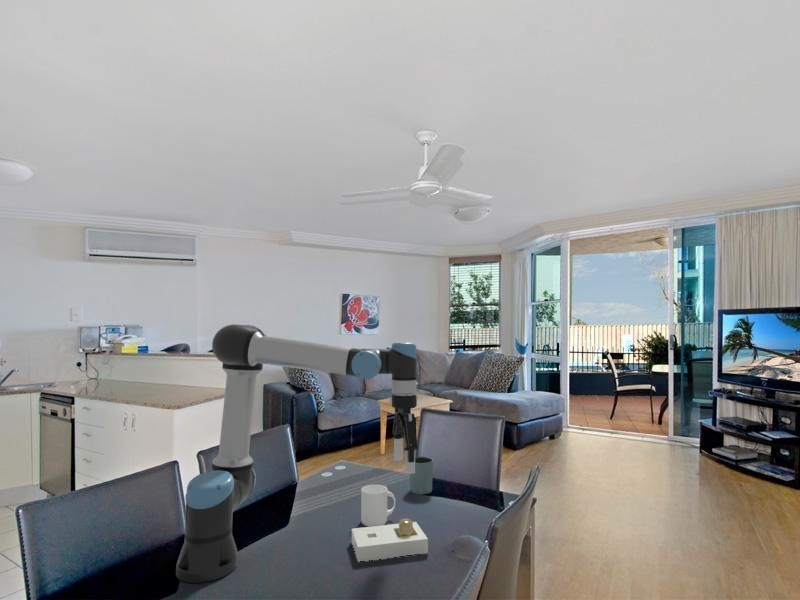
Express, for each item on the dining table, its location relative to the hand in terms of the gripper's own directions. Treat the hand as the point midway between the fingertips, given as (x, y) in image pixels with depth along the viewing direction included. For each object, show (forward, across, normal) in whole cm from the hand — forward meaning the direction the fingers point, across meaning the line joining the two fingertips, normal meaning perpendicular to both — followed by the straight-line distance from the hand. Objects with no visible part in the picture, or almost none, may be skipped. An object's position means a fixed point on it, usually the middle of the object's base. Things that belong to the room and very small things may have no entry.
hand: (404, 466), depth 132 cm
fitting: (+23, 0, 0) cm, 23 cm away
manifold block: (+23, 0, +5) cm, 23 cm away
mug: (+23, +19, +4) cm, 30 cm away
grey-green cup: (+23, +44, -18) cm, 53 cm away
